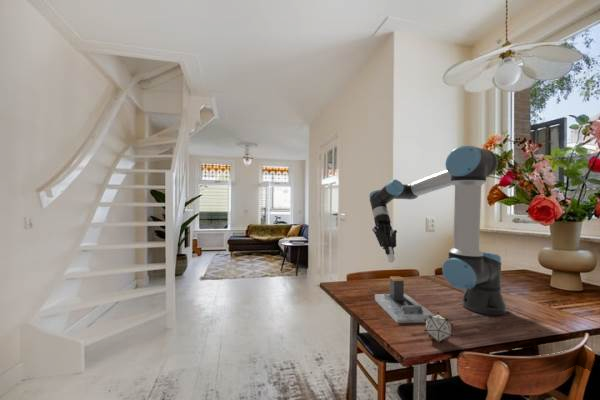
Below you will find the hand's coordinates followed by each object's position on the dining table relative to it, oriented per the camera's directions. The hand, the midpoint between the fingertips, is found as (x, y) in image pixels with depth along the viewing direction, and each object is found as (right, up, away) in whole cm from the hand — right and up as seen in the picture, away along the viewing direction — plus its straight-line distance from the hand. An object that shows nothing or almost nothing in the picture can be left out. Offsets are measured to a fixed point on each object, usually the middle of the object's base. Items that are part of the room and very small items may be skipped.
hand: (391, 261), depth 127 cm
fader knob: (-1, -14, -10) cm, 17 cm away
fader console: (-1, -16, -15) cm, 22 cm away
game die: (+1, -16, -40) cm, 43 cm away
